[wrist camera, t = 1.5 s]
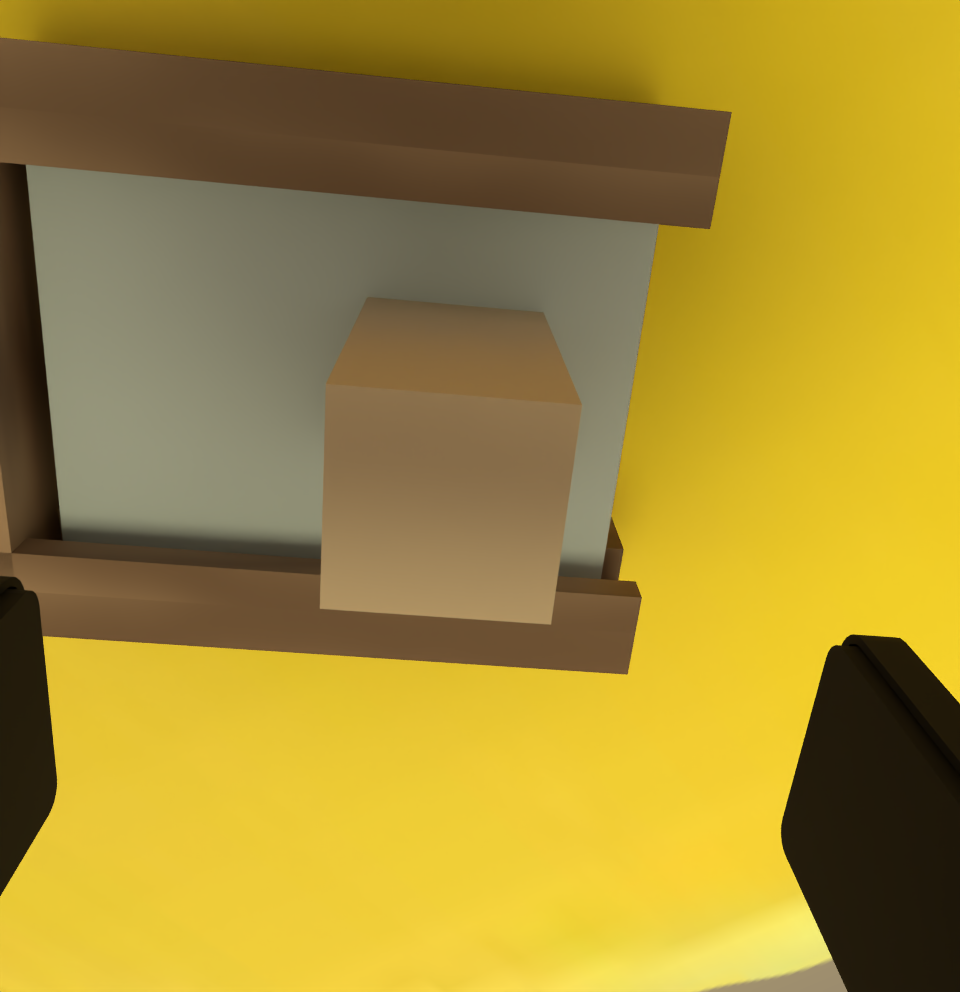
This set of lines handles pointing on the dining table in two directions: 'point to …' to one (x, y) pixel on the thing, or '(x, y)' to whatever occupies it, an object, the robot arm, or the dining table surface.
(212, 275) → the cover plate
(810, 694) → the dining table surface
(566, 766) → the dining table surface
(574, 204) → the walnut box
